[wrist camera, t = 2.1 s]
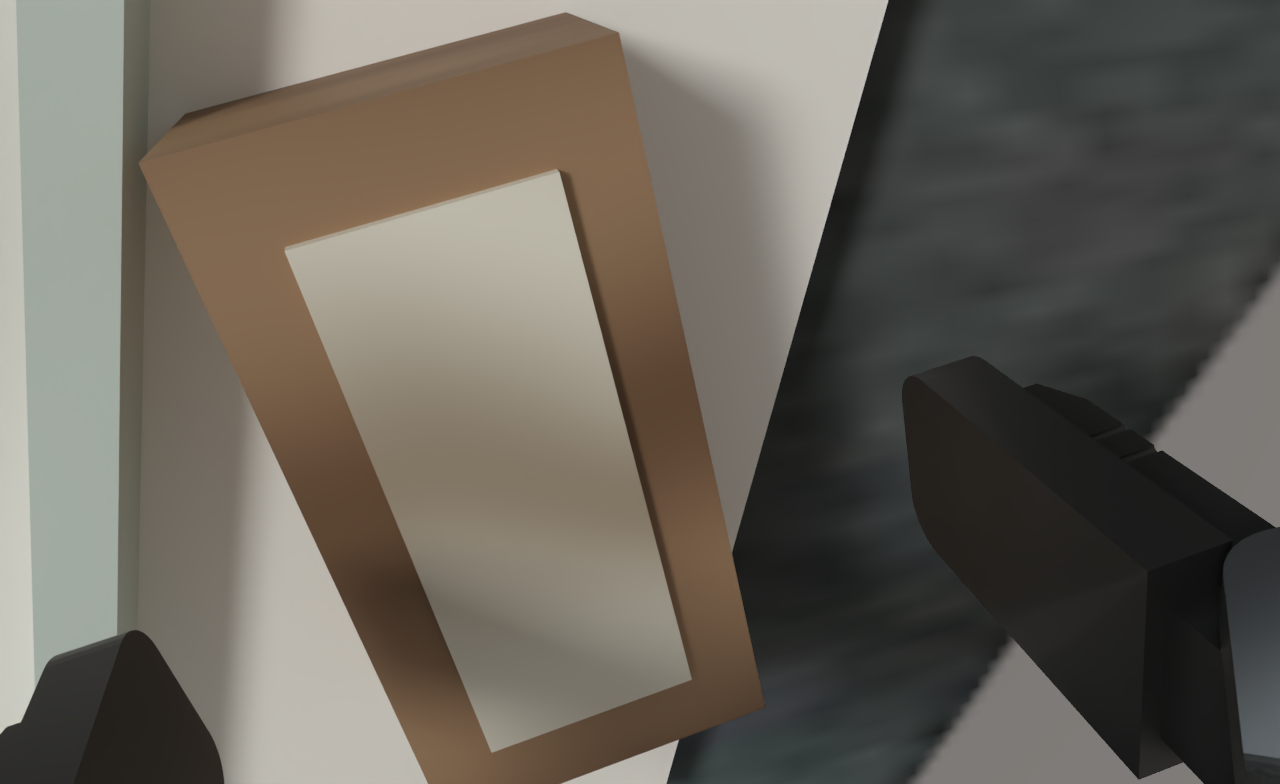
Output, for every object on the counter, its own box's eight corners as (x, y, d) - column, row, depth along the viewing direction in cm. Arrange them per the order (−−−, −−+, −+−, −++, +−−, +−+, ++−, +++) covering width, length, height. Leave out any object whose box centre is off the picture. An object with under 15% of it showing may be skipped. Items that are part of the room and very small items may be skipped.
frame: (704, 591, 18) (768, 714, 15) (433, 686, 17) (448, 834, 14) (565, 11, 13) (621, 33, 10) (185, 113, 12) (135, 165, 9)
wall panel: (640, 775, 21) (686, 911, 18) (-522, 819, 15) (-735, 1033, 12) (941, -341, 13) (1102, -416, 10) (-1122, -1123, 8) (-2041, -1777, 5)
